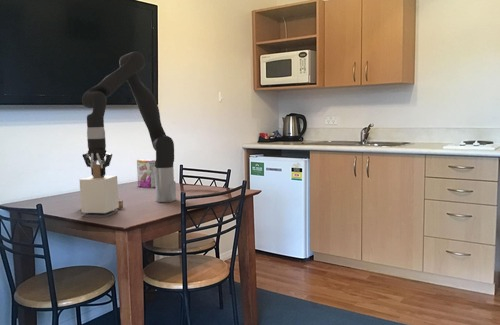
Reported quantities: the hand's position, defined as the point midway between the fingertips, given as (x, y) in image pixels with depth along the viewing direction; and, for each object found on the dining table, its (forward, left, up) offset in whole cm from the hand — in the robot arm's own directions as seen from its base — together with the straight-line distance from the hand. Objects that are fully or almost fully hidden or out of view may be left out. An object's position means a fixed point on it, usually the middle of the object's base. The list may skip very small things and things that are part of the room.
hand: (98, 176), depth 205 cm
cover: (0, 0, -15) cm, 15 cm away
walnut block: (-2, -12, -17) cm, 21 cm away
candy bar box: (+12, -73, -17) cm, 76 cm away
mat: (0, 0, -17) cm, 17 cm away
